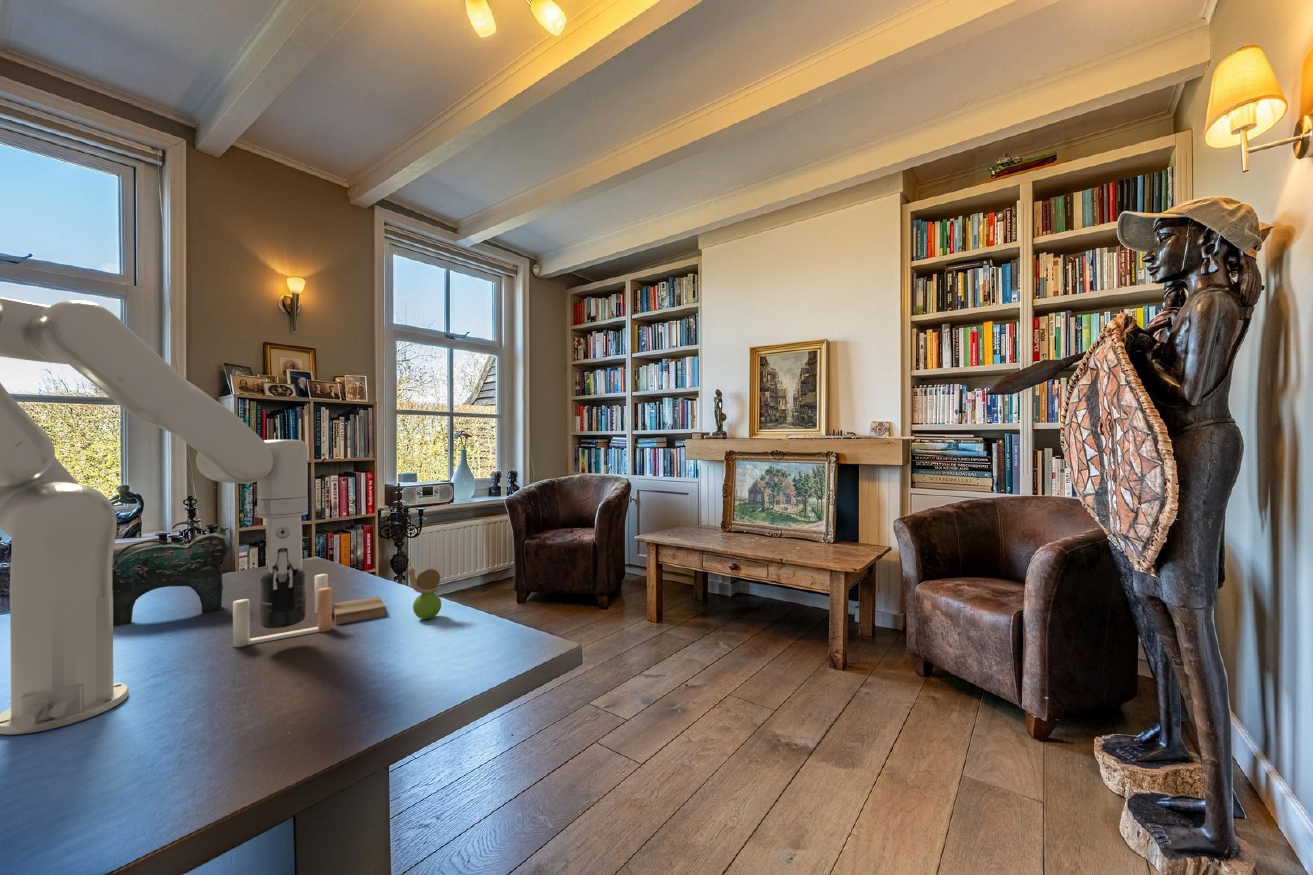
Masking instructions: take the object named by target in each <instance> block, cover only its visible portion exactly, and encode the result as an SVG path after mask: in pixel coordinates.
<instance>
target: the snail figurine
mask: <svg viewBox="0 0 1313 875" xmlns="http://www.w3.org/2000/svg"><path fill="white" fill-rule="evenodd" d="M407 566H408V567H409V568H408V569H407V575H408V576H409V581H410V584H411V587H412V588H413V590H414V591H415V592H416V593H419V595H418V596H417V597H416V598H415V600H414V602H413V605H412V610H413V612H414V614H415V616H416V617H418V618H420V619H422V620H429V619H432V618H434V617H436V616H437V615H438V614H439V612H441V609H442V600H441V598H440V596H439V594H437V593H436V592H437V591H438V590H439V589H441V585H439V583H440V581H441V575H440V573H439V571H438V570H436V569H434V568H426V569H425V568H424V569H423V570H422V571H420V572H419V573H418V575H417V577H416V575H415V574H416V569H415V568H414V567H410V566H411V562H408V563H407Z"/></svg>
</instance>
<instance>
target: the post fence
mask: <svg viewBox="0 0 1313 875" xmlns="http://www.w3.org/2000/svg"><path fill="white" fill-rule="evenodd" d="M328 576H329V575H328V573H320V574H316V575H314V614H315V615H317V626H314V627H309V628H303V629H297V630H291V631H287V632H280V633H276V634H275V633H274V634H269V635H264V636H256V637H252V638H250V635H251V634H250V632H251V631H250V628H251V626H250V623H251V622H250V621H251V620H250V617H251V616H250V605H251V604H250V598H249V599H248V598H243V599H237V600H234V601H233V602H232V647H233V648H240V647H245V646H248V645H254V644H259V643H265V642H270V641H275V640H281V639H287V638H291V637H296V636H297V637H298V636H303V635H309V634H315V633H322V632H328V631H331V630H332V629H333V602H332V600H333V596H332V595H333V592H332V589H333V588H332V587H329V586H328V585H329V584H328V583H329V582H328V578H329V577H328Z"/></svg>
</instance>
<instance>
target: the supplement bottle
mask: <svg viewBox="0 0 1313 875" xmlns="http://www.w3.org/2000/svg"><path fill="white" fill-rule="evenodd" d="M287 558H288V554H287ZM278 559H279V555H278ZM266 569H267V570H269V568H268V565H267V566H266ZM273 569H274V566H273ZM287 570H290V568H287ZM292 570H293V573H292V587H294V609H293V610H290V611H284V612H277V613H273V612H272V590H273V574H271V573H269V571H267V572H266V573H264V574H263V575H262V577H261V578H260V581H259V582H260V584H259V585H260V590H259V591H260V593H259V595H260V596H259V597H260V598H259V599H260V600H259V605H260V606H259V609H260V610H259V624H260V626H261V627H262V628H264V629H281V628H282V629H283V628H288V627H292V626H294V625H298V624H300V623H302V622H303V621H304V620H305V618H306V614H307V610H306V609H307V606H306V605H307V573H306V572H305V570H303V569H301V570H300V571H298V569H293V567H292ZM276 571H278V569H277V568H276ZM273 572H274V571H273ZM288 576H289V575H288Z"/></svg>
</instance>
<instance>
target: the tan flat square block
mask: <svg viewBox="0 0 1313 875" xmlns="http://www.w3.org/2000/svg"><path fill="white" fill-rule="evenodd" d="M332 616H333V619H334V623H335V625H342V624H346V623H348V624H349V623H353V622H358V621H364V620H368V619H375V618H381V617H385V616H386V606H385V604H384V602H383V600H382V599H381V596H373V597H365V598H360V599H352V600H347V601H341V602H335V603H333V602H332Z"/></svg>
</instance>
